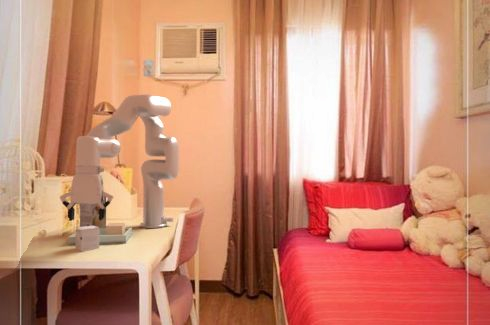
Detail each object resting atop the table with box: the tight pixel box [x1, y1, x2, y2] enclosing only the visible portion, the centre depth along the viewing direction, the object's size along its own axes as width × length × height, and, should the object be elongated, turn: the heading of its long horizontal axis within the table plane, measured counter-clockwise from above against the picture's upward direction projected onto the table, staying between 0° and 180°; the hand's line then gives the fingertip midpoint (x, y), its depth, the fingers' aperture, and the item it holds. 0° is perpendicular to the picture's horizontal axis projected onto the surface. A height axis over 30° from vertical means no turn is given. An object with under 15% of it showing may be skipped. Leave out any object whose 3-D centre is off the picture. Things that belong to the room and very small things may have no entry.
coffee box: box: [79, 196, 107, 229], centre depth 139 cm, size 9×6×16 cm
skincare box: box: [75, 226, 100, 252], centre depth 114 cm, size 6×6×7 cm
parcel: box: [106, 222, 126, 235], centre depth 127 cm, size 6×6×5 cm
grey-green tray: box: [67, 227, 133, 246], centre depth 126 cm, size 20×14×3 cm
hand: (86, 220), depth 113 cm, fingers open, 9 cm apart
